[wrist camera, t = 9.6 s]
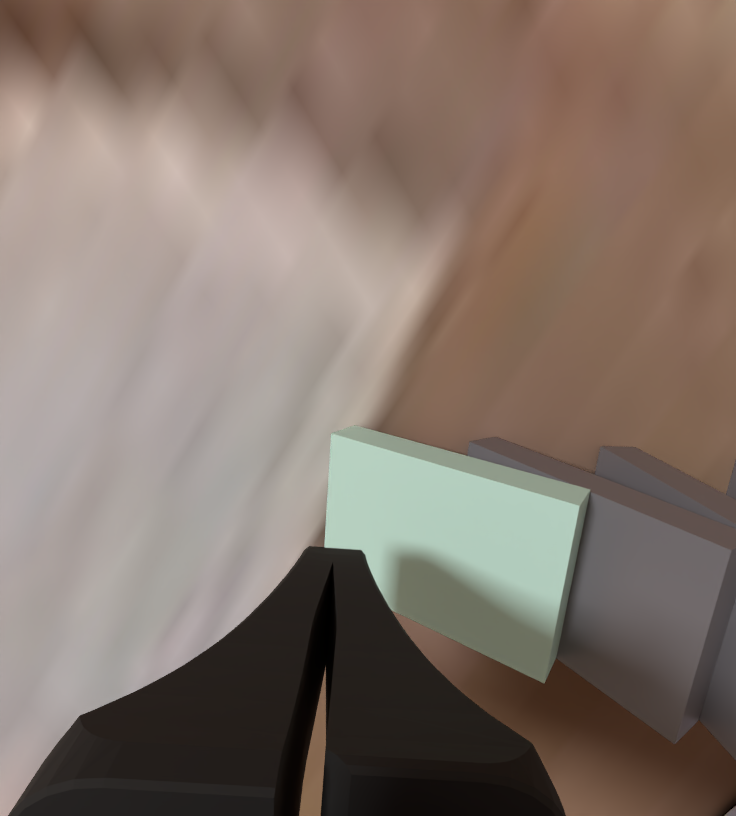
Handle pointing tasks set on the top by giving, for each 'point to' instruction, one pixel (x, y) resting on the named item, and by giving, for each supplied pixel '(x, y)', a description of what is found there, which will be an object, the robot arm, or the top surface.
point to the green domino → (459, 542)
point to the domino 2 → (631, 467)
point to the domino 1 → (640, 594)
